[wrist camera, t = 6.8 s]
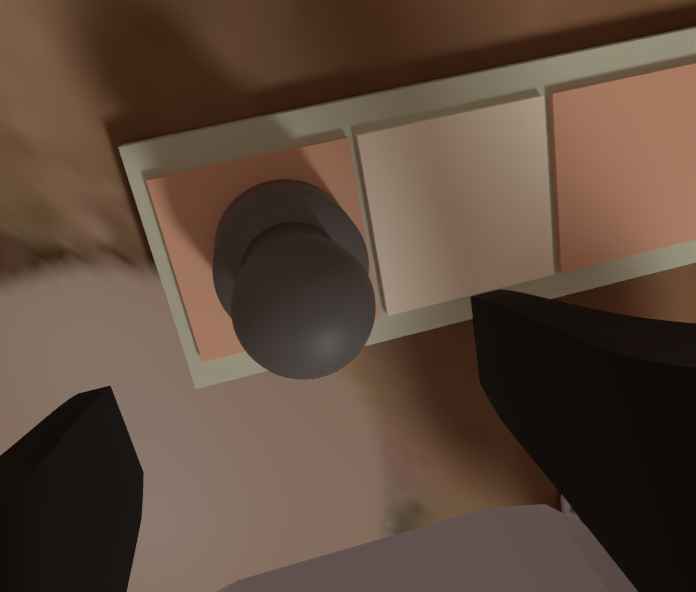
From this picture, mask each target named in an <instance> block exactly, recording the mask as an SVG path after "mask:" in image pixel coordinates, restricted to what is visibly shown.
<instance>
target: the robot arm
mask: <svg viewBox="0 0 696 592" xmlns="http://www.w3.org/2000/svg"><path fill="white" fill-rule="evenodd" d="M470 299H471V307H472V316H473V325H474V334H475V342H476V351H477V360H478V369H479V378H480V384H481V386H482V388H483V390H484V391H485V393H486V395H487V397H488V398H489V400H490V402H491V404H492V405H493V407H494V409H495V410H496V412H497V414H498V415H499V417H500V419H501V420H502V421H503V423H504V424H505V425H506V427H507V428H508V429H509V430H510V432H511V433H512V434H513V435H514V437H515V438H516V439H517V440H518V442H519V443H520V444H521V445H522V447H523V448H524V449H525V450H526V451H527V453H528V454H529V455H530V456H531V458H532V459H533V460H534V461H535V462H536V464H537V465H538V466H539V467H540V469H541V470H542V471H543V472H544V473H545V475H546V476H547V477H548V478H549V480H550V481H551V482H552V483H553V484H554V486H555V487H556V488H557V489H558V491H559V492H560V493H561V512H559V511H558V510H556V509H554V508H552V507H550V506H548V505H546V504H538V505H523V506H507V507H492V508H487V509H483V510H480V511H476V512H473V513H469V514H466V515H463V516H459V517H456V518H452V519H449V520H445V521H442V522H438V523H435V524H431V525H428V526H424V527H421V528H418V529H414V530H411V531H407V532H404V533H400V534H397V535H393V536H390V537H386V538H383V539H379V540H376V541H373V542H370V543H366V544H362V545H359V546H355V547H352V548H348V549H345V550H342V551H338V552H335V553H331V554H328V555H324V556H321V557H317V558H314V559H310V560H307V561H303V562H300V563H297V564H293V565H290V566H286V567H283V568H279V569H276V570H272V571H269V572H265V573H262V574H258V575H255V576H252V577H248V578H245V579H241V580H238V581H236V582H234V583H232V584H230V585H228V586H227V587H225V588H223V589H221V590H219V591H217V592H696V323H683V322H674V321H664V320H655V319H647V318H640V317H633V316H627V315H622V314H616V313H611V312H605V311H600V310H595V309H591V308H586V307H582V306H577V305H573V304H568V303H564V302H560V301H556V300H552V299H548V298H543V297H539V296H535V295H531V294H526V293H522V292H517V291H511V290H502V289H498V290H494V291H490V292H486V293H482V294H478V295H474V296H470ZM143 474H144V473H143V470H142V467H141V465H140V462H139V460H138V457H137V454H136V452H135V449H134V446H133V444H132V442H131V438H130V436H129V433H128V431H127V428H126V425H125V423H124V420H123V417H122V415H121V412H120V410H119V407H118V404H117V402H116V399H115V396H114V394H113V391H112V388H111V386H107V387H103V388H99V389H95V390H91V391H87V392H83V393H79V394H77V395H75V396H74V397H72V398H70V399H69V400H67V401H66V402H65V403H63V404H62V405H61V406H60V407H58V408H57V409H56V410H54V411H53V412H52V413H51V414H50V415H48V416H47V417H46V418H45V419H44V420H42V421H41V422H40V423H39V424H38V425H36V427H34V428H33V429H32V430H31V431H30V432H28V433H27V434H26V435H25V436H23V437H22V438H21V439H20V440H19V441H18V442H16V443H15V444H14V445H13V446H12V447H11V448H9V449H8V450H7V451H6V452H4V453H3V454H2V455H1V456H0V592H126V591H127V587H128V582H129V577H130V572H131V567H132V563H133V558H134V553H135V548H136V543H137V538H138V533H139V528H140V523H141V516H142V501H143ZM571 507H572V508H571Z"/></svg>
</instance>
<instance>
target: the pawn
mask: <svg viewBox="0 0 696 592" xmlns="http://www.w3.org/2000/svg"><path fill="white" fill-rule="evenodd" d="M212 271H213V282H214V287H215V291H216V294H217V296H218V299H219V301H220V303H221V305H222V307H223V308H224V310H225V311H226V312H227V314H228V315H229V316H230V317H231V319H232V323H233V328H234V331H235V333H236V336H237V338H238V340H239V342H240V344H241V345H242V347H243V348H244V350H245V351H246V352H247V354H248V355H249V356H250V357H251V358H252V359H253V360H254V361H255V362H257V363H258V364H259V365H260V366H262V367H263V368H265V369H266V370H268V371H270V372H272V373H274V374H277V375H279V376H283V377H286V378H293V379H315V378H320V377H324V376H327V375H330V374H332V373H334V372H336V371H338V370H340V369H341V368H343V367H344V366H346V365H347V364H348V363H350V362H351V361H352V360H353V359H354V358H355V357H356V356H357V355H358V354H359V352H360V351H361V350H362V349H363V347H364V346H365V344H366V342H367V341H368V338H369V336H370V334H371V331H372V328H373V324H374V320H375V313H376V303H375V293H374V289H373V285H372V283H371V280H370V278H369V276H368V275H369V259H368V252H367V248H366V244H365V242H364V239H363V237H362V235H361V233H360V231H359V229H358V228H357V226H356V225H355V224H354V222H353V221H352V220H351V219H350V217H349V216H348V215H347V214H346V212H345V211H344V210H343V209H342V208H341V206H340V205H339V204H338V203H337V202H336V201H335V200H334V199H333V198H332V197H331V196H330V195H329V194H328V193H326V192H325V191H324V190H322V189H320V188H318V187H316V186H314V185H312V184H309V183H307V182H303V181H299V180H292V179H278V180H271V181H267V182H263V183H260V184H258V185H255V186H253V187H251V188H249V189H248V190H246V191H244V192H243V193H242V194H241V195H239V196H238V197H237V198H236V199H235V200H234V201H233V202H232V203H231V204H230V205H229V207H228V208H227V209H226V211H225V212H224V214H223V216H222V218H221V220H220V222H219V225H218V227H217V231H216V236H215V244H214V256H213V269H212Z"/></svg>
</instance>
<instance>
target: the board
mask: <svg viewBox="0 0 696 592" xmlns="http://www.w3.org/2000/svg"><path fill="white" fill-rule="evenodd" d="M118 148H119V151H120V155H121V158H122V161H123V164H124V167H125V170H126V173H127V176H128V180H129V183H130V186H131V189H132V192H133V195H134V198H135V201H136V205H137V208H138V211H139V214H140V217H141V220H142V223H143V226H144V230H145V233H146V236H147V239H148V242H149V245H150V248H151V252H152V255H153V258H154V261H155V264H156V267H157V270H158V273H159V277H160V280H161V283H162V286H163V289H164V292H165V295H166V298H167V302H168V305H169V308H170V311H171V314H172V317H173V320H174V323H175V326H176V329H177V333H178V336H179V339H180V342H181V345H182V348H183V352H184V355H185V358H186V361H187V364H188V367H189V370H190V373H191V376H192V380H193V383H194V386H195V389H197V388H201V387H206V386H209V385H213V384H217V383H221V382H225V381H229V380H233V379H237V378H241V377H245V376H249V375H253V374H256V373H261V372H264V371H268V370H266V369H265V368H263V367H262V366H260V365H259V364H258V363H257V362H255V361H254V360H253V359H252V358H251V357H250V356H249V355H248V354H247V352H246V351H245V350H244V348H243V347H242V345H241V344H240V342H239V340H238V338H237V336H236V333H235V331H234V328H233V323H232V319H231V317H230V316H229V315H228V314H227V312H226V311H225V310H224V308H223V307H222V305H221V303H220V301H219V299H218V296H217V294H216V291H215V287H214V282H213V271H212V269H213V256H214V244H215V236H216V231H217V227H218V225H219V222H220V220H221V218H222V216H223V214H224V212H225V211H226V209H227V208H228V207H229V205H230V204H231V203H232V202H233V201H234V200H235V199H236V198H237V197H238V196H239V195H241V194H242V193H243V192H244V191H246V190H248V189H249V188H251V187H253V186H255V185H258V184H260V183H263V182H267V181H271V180H278V179H292V180H299V181H303V182H307V183H309V184H312V185H314V186H316V187H318V188H320V189H322V190H324V191H325V192H326V193H328V194H329V195H330V196H331V197H332V198H333V199H334V200H335V201H336V202H337V203H338V204H339V205H340V206H341V208H342V209H343V210H344V211H345V212H346V214H347V215H348V216H349V217H350V219H351V220H352V221H353V222H354V224H355V225H356V226H357V228H358V229H359V231H360V233H361V235H362V237H363V239H364V242H365V244H366V248H367V252H368V259H369V275H368V276H369V278H370V280H371V283H372V285H373V289H374V293H375V303H376V313H375V320H374V324H373V328H372V331H371V334H370V336H369V338H368V341H367V342H366V344H365V346H367V345H371V344H375V343H379V342H383V341H387V340H391V339H395V338H399V337H403V336H407V335H411V334H415V333H419V332H423V331H427V330H431V329H435V328H439V327H443V326H446V325H450V324H454V323H458V322H462V321H466V320H470V319H473V316H472V307H471V299H470V296H474V295H478V294H482V293H486V292H490V291H494V290H498V289H502V290H511V291H517V292H522V293H526V294H531V295H535V296H539V297H543V298H548V299H553V298H557V297H561V296H565V295H569V294H573V293H577V292H581V291H585V290H589V289H593V288H597V287H600V286H604V285H608V284H612V283H616V282H620V281H624V280H628V279H632V278H636V277H640V276H644V275H648V274H652V273H656V272H660V271H664V270H668V269H672V268H676V267H679V266H683V265H687V264H691V263H695V262H696V26H694V27H689V28H684V29H679V30H674V31H669V32H664V33H660V34H655V35H650V36H645V37H640V38H635V39H630V40H626V41H621V42H616V43H611V44H606V45H601V46H597V47H592V48H587V49H582V50H577V51H572V52H567V53H563V54H558V55H553V56H548V57H543V58H538V59H533V60H529V61H524V62H519V63H514V64H509V65H504V66H499V67H495V68H490V69H485V70H480V71H475V72H470V73H466V74H461V75H456V76H451V77H446V78H441V79H436V80H432V81H427V82H422V83H417V84H412V85H407V86H402V87H398V88H393V89H388V90H383V91H378V92H373V93H369V94H364V95H359V96H354V97H349V98H344V99H339V100H335V101H330V102H325V103H320V104H315V105H310V106H305V107H301V108H296V109H291V110H286V111H281V112H276V113H271V114H267V115H262V116H257V117H252V118H247V119H242V120H238V121H233V122H228V123H223V124H218V125H213V126H208V127H204V128H199V129H194V130H189V131H184V132H179V133H174V134H170V135H165V136H160V137H155V138H150V139H145V140H140V141H136V142H131V143H126V144H122V145H121V146H119V147H118Z"/></svg>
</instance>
